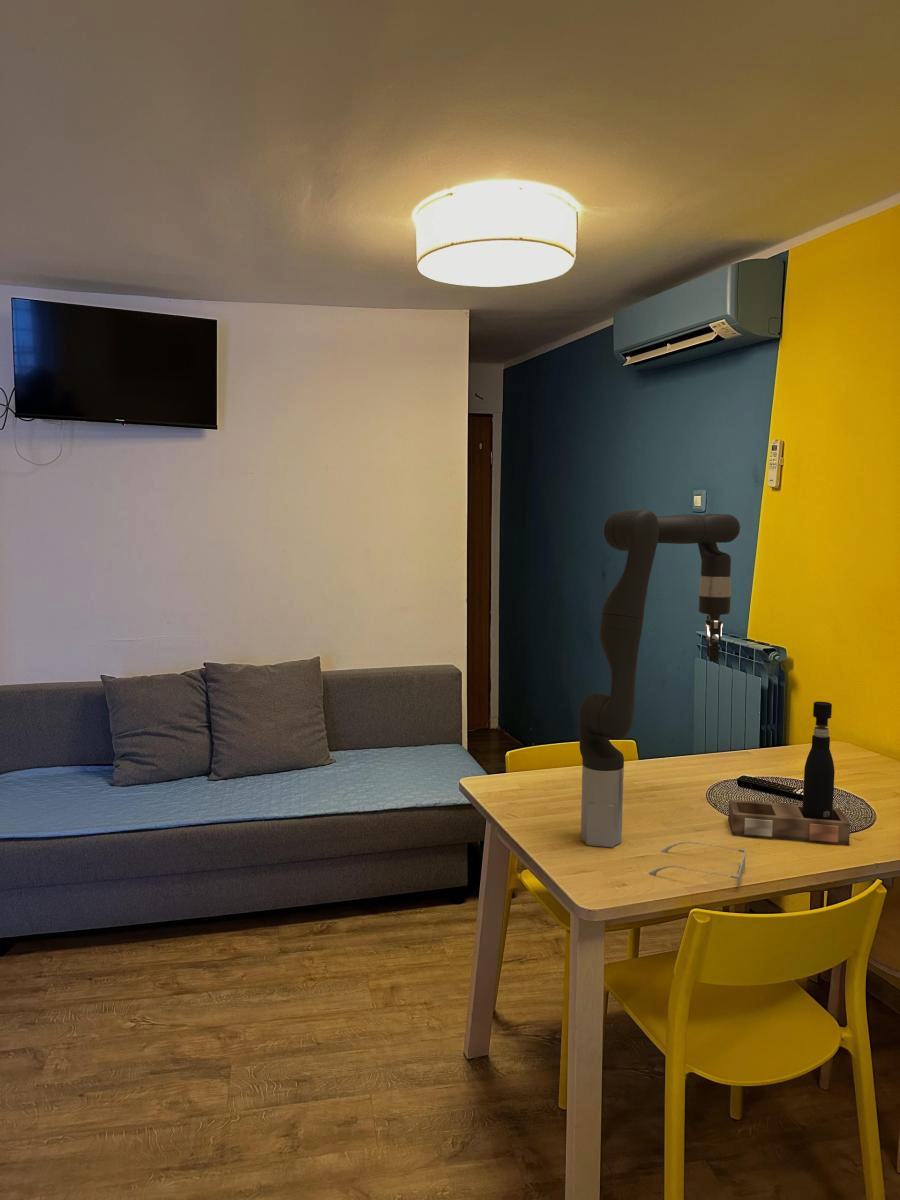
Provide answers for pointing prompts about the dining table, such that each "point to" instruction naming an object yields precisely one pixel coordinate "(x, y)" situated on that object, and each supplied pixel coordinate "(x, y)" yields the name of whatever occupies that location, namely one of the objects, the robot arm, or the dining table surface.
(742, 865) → the eyeglasses
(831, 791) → the black insulated water bottle
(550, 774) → the dining table surface
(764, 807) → the socket board
